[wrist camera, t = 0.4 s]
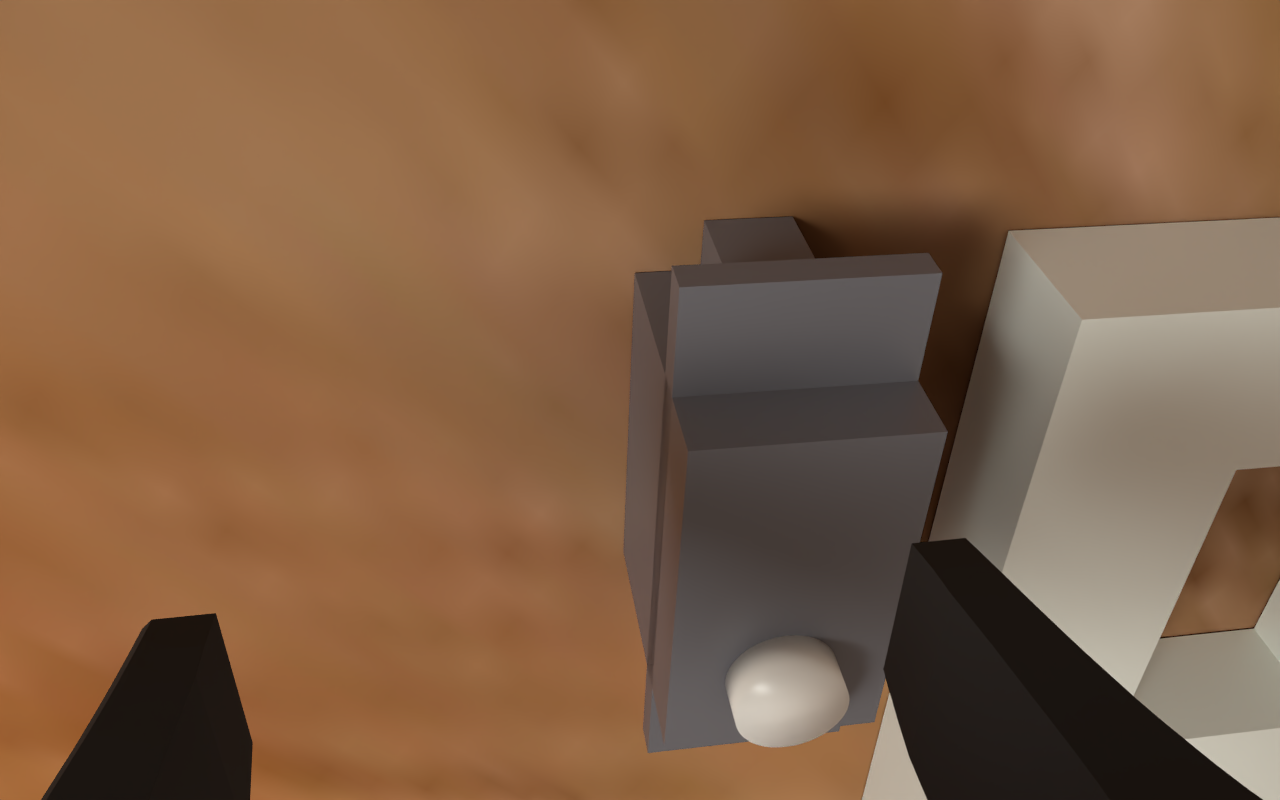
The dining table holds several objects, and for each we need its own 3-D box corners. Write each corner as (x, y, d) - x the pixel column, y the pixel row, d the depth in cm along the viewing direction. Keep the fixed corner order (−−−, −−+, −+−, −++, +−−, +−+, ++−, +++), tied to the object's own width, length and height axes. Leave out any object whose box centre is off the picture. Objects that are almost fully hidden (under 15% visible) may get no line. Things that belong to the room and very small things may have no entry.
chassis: (1289, 785, 36) (1351, 875, 34) (851, 841, 34) (884, 941, 32) (1656, 199, 24) (1793, 276, 21) (1008, 230, 22) (1081, 319, 19)
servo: (792, 598, 27) (870, 821, 23) (620, 615, 26) (666, 846, 22) (866, 161, 20) (999, 354, 16) (638, 170, 20) (709, 373, 15)
